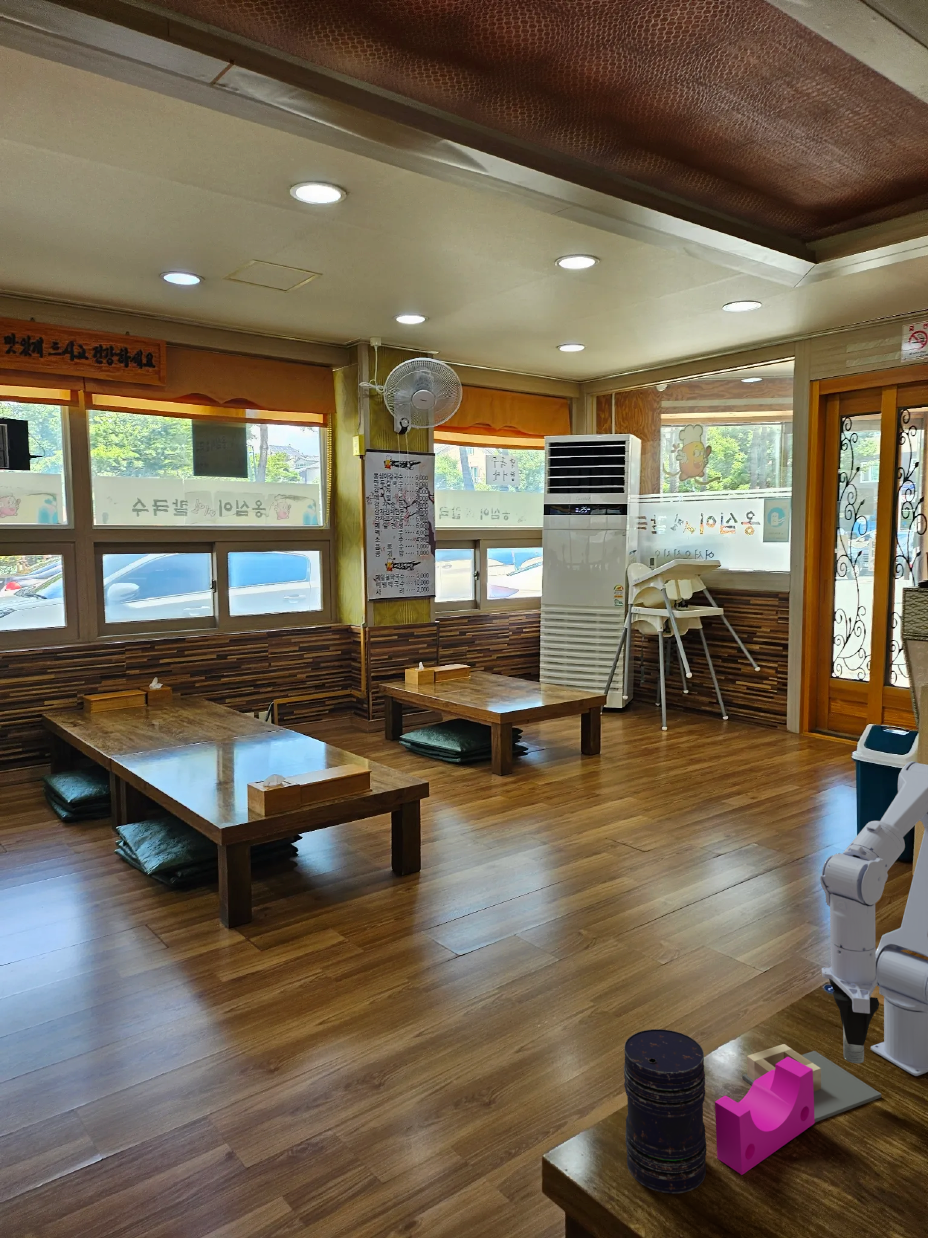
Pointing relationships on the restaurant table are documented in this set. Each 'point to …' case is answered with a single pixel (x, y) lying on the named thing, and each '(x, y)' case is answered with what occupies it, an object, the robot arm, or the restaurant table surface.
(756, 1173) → the restaurant table surface
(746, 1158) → the toy block
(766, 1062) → the birch square frame
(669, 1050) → the dark metal barrel
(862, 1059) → the metal pin
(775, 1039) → the restaurant table surface
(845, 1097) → the charcoal mat
